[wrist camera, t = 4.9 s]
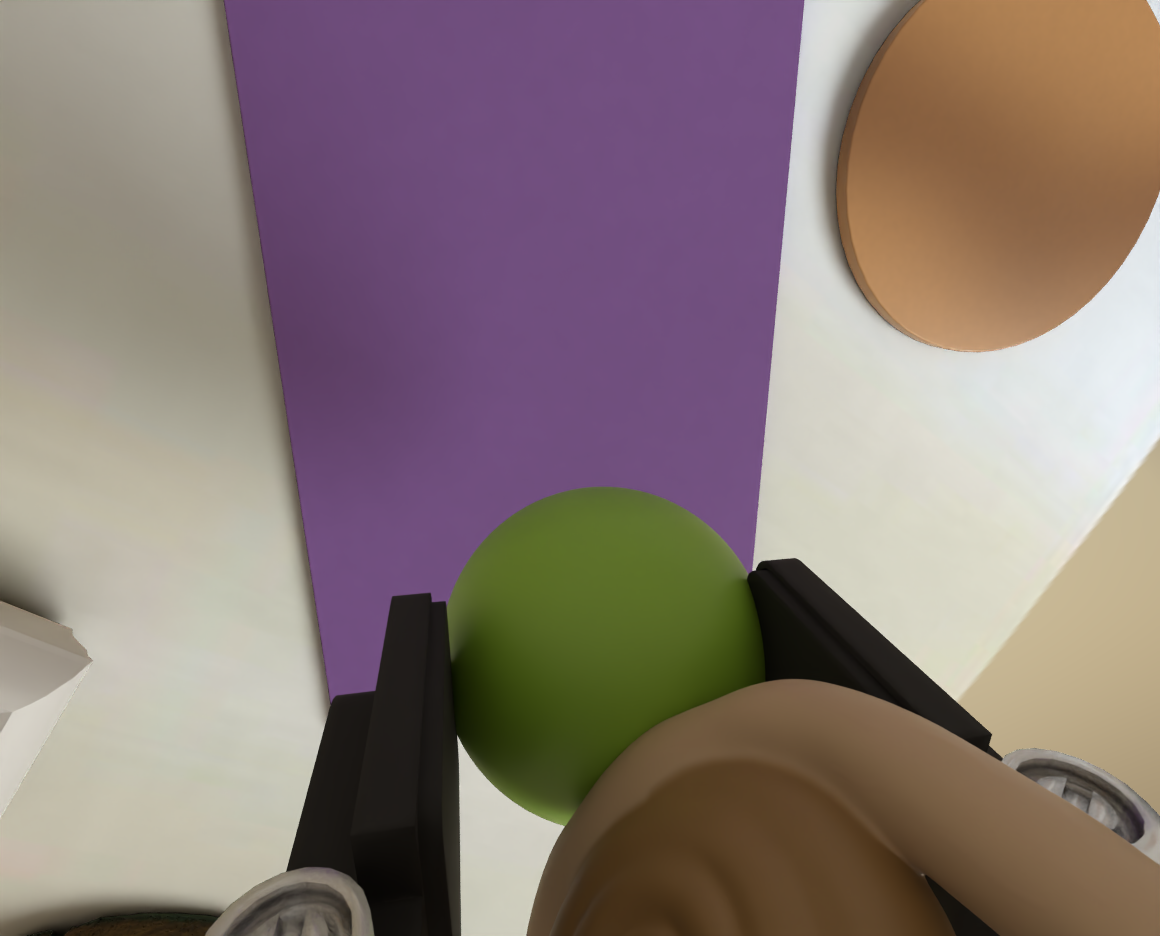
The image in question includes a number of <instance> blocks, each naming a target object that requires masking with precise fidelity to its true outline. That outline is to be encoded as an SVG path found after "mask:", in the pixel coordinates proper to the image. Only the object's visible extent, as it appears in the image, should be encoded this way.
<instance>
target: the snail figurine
mask: <svg viewBox="0 0 1160 936" xmlns="http://www.w3.org/2000/svg"><path fill="white" fill-rule="evenodd" d="M747 577H748V573H747V571H746V569H745V568H744V566H743V564H742V563H741V561H740V560H739V558H738V557H737V556H736V554H735V553H734V552H733V550H732V549H731V548H730V547H729V546H728V544H727V543H726V542H725V541H724V540H723V539H722V538H721V537H720V536H719V535H718V534H717V533H716V532H715V531H714V530H713V529H712V528H711V527H710V526H708V525H707V524H706V523H705V522H704V521H702V520H701V519H699V518H698V517H697V516H695V515H694V514H692V513H691V512H689V511H688V510H686V509H684V508H682V507H681V506H679V505H677V504H675V503H673V502H671V501H668V500H666V499H664V498H661V497H659V496H656V495H653V494H650V493H646V492H642V491H638V490H633V489H627V488H620V487H587V488H579V489H573V490H569V491H564V492H561V493H557V494H554V495H551V496H548V497H546V498H543V499H541V500H538V501H536V502H534V503H532V504H530V505H528V506H526V507H525V508H523V509H521V510H520V511H518V512H516V513H515V514H513V515H512V516H511V517H509V518H508V519H507V520H505V521H504V522H503V523H501V524H500V525H499V526H498V527H497V528H496V529H495V530H494V531H493V532H491V533H490V534H489V535H488V536H487V538H486V539H485V540H484V541H483V542H482V543H481V544H480V545H479V547H478V548H477V549H476V550H475V552H474V553H473V554H472V556H471V557H470V559H469V560H468V562H467V563H466V565H465V567H464V568H463V570H462V572H461V574H460V576H459V578H458V580H457V582H456V584H455V586H454V588H453V591H452V593H451V596H450V599H449V602H448V605H447V617H448V630H449V642H450V655H451V669H452V686H453V701H454V714H455V724H456V732H457V735H458V737H459V739H460V741H461V743H462V745H463V747H464V748H465V750H466V752H467V753H468V755H469V756H470V758H471V759H472V761H473V762H474V763H475V765H476V766H477V767H478V769H479V770H480V771H481V772H482V773H483V775H484V776H485V777H486V778H487V779H488V780H489V781H490V782H491V783H492V784H493V785H494V786H495V787H496V788H497V789H498V790H499V791H500V792H502V793H503V794H504V795H505V796H507V797H508V798H509V799H511V800H512V801H513V802H515V803H516V804H518V805H519V806H521V807H522V808H524V809H526V810H528V811H529V812H531V813H533V814H535V815H537V816H539V817H541V818H544V819H546V820H549V821H551V822H554V823H557V824H560V825H564V826H565V827H564V829H563V831H562V832H561V834H560V836H559V837H558V839H557V841H556V843H555V845H554V847H553V849H552V851H551V854H550V856H549V858H548V861H547V863H546V866H545V869H544V871H543V874H542V877H541V880H540V883H539V887H538V890H537V893H536V897H535V901H534V904H533V908H532V912H531V916H530V921H529V925H528V930H527V936H956V934H955V932H954V930H953V928H952V925H951V923H950V921H949V919H948V917H947V915H946V913H945V912H944V910H943V908H942V906H941V905H940V903H939V901H938V899H937V898H936V896H935V894H934V893H933V891H932V889H931V888H930V886H929V884H928V882H927V880H926V878H925V875H927V876H928V877H930V878H931V879H932V880H934V881H935V882H936V883H937V884H938V885H940V886H941V887H942V888H943V889H944V890H946V891H947V892H948V893H949V894H951V895H952V896H953V897H954V898H955V899H957V900H958V901H959V902H960V903H961V904H963V905H964V906H965V907H966V908H968V909H969V910H970V911H971V912H972V913H974V914H975V915H976V916H977V917H978V918H980V919H981V920H982V921H983V922H984V923H986V924H987V925H988V926H989V927H990V928H992V929H993V930H994V931H995V932H996V933H997V934H999V935H1000V936H1160V865H1159V864H1157V863H1156V862H1155V861H1153V860H1152V859H1150V858H1149V857H1148V856H1146V855H1145V854H1144V853H1142V852H1141V851H1140V850H1138V849H1137V848H1136V847H1135V846H1133V845H1132V844H1130V843H1129V842H1127V841H1126V840H1125V839H1123V838H1122V837H1120V836H1119V835H1118V834H1116V833H1115V832H1113V831H1112V830H1110V829H1109V828H1107V827H1106V826H1105V825H1103V824H1102V823H1100V822H1099V821H1097V820H1096V819H1094V818H1093V817H1091V816H1090V815H1088V814H1087V813H1085V812H1084V811H1082V810H1080V809H1079V808H1077V807H1076V806H1074V805H1072V804H1071V803H1069V802H1068V801H1066V800H1064V799H1063V798H1061V797H1059V796H1058V795H1056V794H1054V793H1053V792H1051V791H1049V790H1047V789H1046V788H1044V787H1042V786H1041V785H1039V784H1037V783H1036V782H1034V781H1032V780H1031V779H1029V778H1027V777H1026V776H1024V775H1022V774H1021V773H1019V772H1017V771H1016V770H1014V769H1012V768H1011V767H1009V766H1008V765H1006V764H1004V763H1003V762H1001V761H999V760H997V759H996V758H994V757H992V756H991V755H989V754H987V753H985V752H984V751H982V750H980V749H979V748H977V747H975V746H974V745H972V744H970V743H968V742H967V741H965V740H963V739H962V738H960V737H958V736H956V735H955V734H953V733H951V732H949V731H948V730H946V729H944V728H942V727H941V726H939V725H937V724H935V723H933V722H931V721H929V720H927V719H925V718H923V717H921V716H919V715H917V714H915V713H912V712H910V711H908V710H906V709H903V708H901V707H899V706H896V705H894V704H892V703H889V702H887V701H884V700H882V699H879V698H876V697H874V696H871V695H868V694H865V693H862V692H859V691H856V690H853V689H850V688H846V687H842V686H839V685H835V684H830V683H826V682H821V681H815V680H805V679H783V680H774V681H768V682H765V658H764V648H763V641H762V634H761V628H760V623H759V619H758V614H757V610H756V606H755V602H754V599H753V596H752V593H751V590H750V587H749V584H748V581H747Z"/></svg>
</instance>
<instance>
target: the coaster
mask: <svg viewBox="0 0 1160 936" xmlns="http://www.w3.org/2000/svg"><path fill="white" fill-rule="evenodd" d="M1159 191H1160V25H1159V23H1158V21H1157V19H1156V17H1155V15H1154V13H1153V11H1152V9H1151V7H1150V6H1149V4H1148V2H1147V1H1146V0H920V1H919V2H918V3H917V4H916V5H915V6H914V7H913V8H912V9H910V10H909V11H908V13H907V14H906V15H905V16H904V17H903V19H902V20H901V21H900V22H899V23H898V24H897V26H896V27H895V28H894V29H893V30H892V32H891V33H890V34H889V36H888V37H887V39H886V40H885V42H884V43H883V45H882V46H881V48H880V49H879V51H878V52H877V54H876V55H875V57H874V58H873V60H872V62H871V64H870V66H869V68H868V70H867V72H866V74H865V76H864V78H863V80H862V81H861V83H860V86H859V88H858V91H857V94H856V96H855V99H854V101H853V104H852V106H851V109H850V112H849V115H848V119H847V122H846V126H845V130H844V133H843V137H842V142H841V148H840V154H839V160H838V168H837V185H836V199H837V218H838V223H839V229H840V235H841V241H842V244H843V248H844V251H845V254H846V258H847V261H848V264H849V266H850V268H851V271H852V273H853V275H854V277H855V279H856V282H857V284H858V285H859V287H860V289H861V290H862V292H863V293H864V295H865V296H866V298H867V300H868V301H869V302H870V304H871V305H872V306H873V307H874V308H875V309H876V310H877V312H878V313H879V314H880V315H881V316H882V317H883V318H884V319H885V320H886V321H888V322H889V323H890V324H891V325H892V326H894V327H895V328H896V329H897V330H899V331H900V332H902V333H904V334H906V335H907V336H909V337H911V338H912V339H914V340H917V341H920V342H922V343H925V344H927V345H930V346H934V347H939V348H944V349H948V350H954V351H963V352H985V351H994V350H1000V349H1004V348H1008V347H1012V346H1016V345H1019V344H1022V343H1024V342H1027V341H1029V340H1032V339H1034V338H1037V337H1039V336H1041V335H1043V334H1044V333H1046V332H1048V331H1050V330H1052V329H1054V328H1055V327H1057V326H1058V325H1060V324H1061V323H1063V322H1064V321H1066V320H1067V319H1069V318H1070V317H1071V316H1073V315H1074V314H1075V313H1077V312H1078V311H1079V310H1080V309H1081V308H1082V307H1084V306H1085V305H1086V304H1087V303H1088V302H1089V301H1090V300H1092V299H1093V298H1094V297H1095V295H1096V294H1097V293H1098V292H1099V291H1100V290H1101V289H1102V288H1103V287H1104V286H1105V285H1106V284H1107V283H1108V282H1109V280H1110V279H1111V278H1112V277H1113V275H1114V274H1115V273H1116V271H1117V270H1118V269H1119V268H1120V266H1121V265H1122V264H1123V262H1124V261H1125V259H1126V258H1127V256H1128V255H1129V253H1130V251H1131V250H1132V248H1133V247H1134V245H1135V244H1136V242H1137V240H1138V238H1139V236H1140V234H1141V233H1142V231H1143V229H1144V227H1145V225H1146V223H1147V221H1148V219H1149V217H1150V214H1151V212H1152V209H1153V207H1154V205H1155V202H1156V200H1157V197H1158V195H1159Z"/></svg>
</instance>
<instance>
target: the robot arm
mask: <svg viewBox="0 0 1160 936" xmlns="http://www.w3.org/2000/svg"><path fill="white" fill-rule="evenodd" d="M747 581H748V584H749V587H750V590H751V593H752V596H753V599H754V602H755V606H756V610H757V614H758V619H759V623H760V628H761V634H762V641H763V648H764V658H765V682H768V681H774V680H783V679H805V680H815V681H821V682H826V683H830V684H835V685H839V686H842V687H846V688H850V689H853V690H856V691H859V692H862V693H865V694H868V695H871V696H874V697H876V698H879V699H882V700H884V701H887V702H889V703H892V704H894V705H896V706H899V707H901V708H903V709H906V710H908V711H910V712H912V713H915V714H917V715H919V716H921V717H923V718H925V719H927V720H929V721H931V722H933V723H935V724H937V725H939V726H941V727H942V728H944V729H946V730H948V731H949V732H951V733H953V734H955V735H956V736H958V737H960V738H962V739H963V740H965V741H967V742H968V743H970V744H972V745H974V746H975V747H977V748H979V749H980V750H982V751H984V752H985V753H987V754H989V755H991V756H992V757H994V758H996V759H997V760H999V761H1001V762H1003V763H1004V764H1006V765H1008V766H1009V767H1011V768H1012V769H1014V770H1016V771H1017V772H1019V773H1021V774H1022V775H1024V776H1026V777H1027V778H1029V779H1031V780H1032V781H1034V782H1036V783H1037V784H1039V785H1041V786H1042V787H1044V788H1046V789H1047V790H1049V791H1051V792H1053V793H1054V794H1056V795H1058V796H1059V797H1061V798H1063V799H1064V800H1066V801H1068V802H1069V803H1071V804H1072V805H1074V806H1076V807H1077V808H1079V809H1080V810H1082V811H1084V812H1085V813H1087V814H1088V815H1090V816H1091V817H1093V818H1094V819H1096V820H1097V821H1099V822H1100V823H1102V824H1103V825H1105V826H1106V827H1107V828H1109V829H1110V830H1112V831H1113V832H1115V833H1116V834H1118V835H1119V836H1120V837H1122V838H1123V839H1125V840H1126V841H1127V842H1129V843H1130V844H1132V845H1133V846H1135V847H1136V848H1137V849H1138V850H1140V851H1141V852H1142V853H1144V854H1145V855H1146V856H1148V857H1149V858H1150V859H1152V860H1153V861H1155V862H1156V863H1157V864H1159V865H1160V816H1159V815H1158V814H1157V812H1155V810H1154V809H1153V808H1151V806H1150V805H1149V804H1148V803H1147V802H1146V801H1145V800H1144V799H1143V798H1141V797H1140V796H1139V795H1138V794H1137V793H1136V792H1135V791H1134V790H1132V789H1131V788H1130V787H1129V786H1128V785H1126V784H1125V783H1123V782H1122V781H1120V780H1119V779H1117V778H1116V777H1114V776H1112V775H1111V774H1109V773H1108V772H1106V771H1105V770H1103V769H1100V768H1098V767H1096V766H1094V765H1092V764H1090V763H1088V762H1086V761H1084V760H1082V759H1079V758H1076V757H1073V756H1069V755H1066V754H1063V753H1060V752H1057V751H1050V750H1044V749H1037V748H1032V749H1019V750H1016V751H1014V752H1011V753H1009V754H1007V755H1005V757H1004V758H1002V757H1001V756H1000V755H999V754H997V753H996V752H995V751H994V750H993V749H992V748H991V747H990V746H989V743H990V739H991V736H992V734H991V733H990V732H989V731H988V730H987V729H986V728H985V727H983V726H982V725H981V724H980V723H979V722H978V721H977V720H976V719H975V718H974V717H972V716H971V715H970V714H969V713H968V712H967V711H966V710H965V709H964V708H963V707H961V706H960V705H959V704H958V703H957V702H956V701H955V700H954V699H953V698H951V697H950V696H949V695H948V694H947V693H946V692H945V691H944V690H943V689H942V688H940V687H939V686H938V685H937V684H936V683H935V682H934V681H933V680H932V679H930V678H929V677H928V676H927V675H926V674H925V673H924V672H923V671H922V670H921V669H919V668H918V667H917V666H916V665H915V664H914V663H913V662H912V661H911V660H909V659H908V658H907V657H906V656H905V655H904V654H903V653H902V652H901V651H900V650H898V649H897V648H896V647H895V646H894V645H893V644H892V643H891V642H890V641H888V640H887V639H886V638H885V637H884V636H883V635H882V634H881V633H880V632H879V631H877V630H876V629H875V628H874V627H873V626H872V625H871V624H870V623H869V622H867V621H866V620H865V619H864V618H863V617H862V616H861V615H860V614H859V613H858V612H856V611H855V610H854V609H853V608H852V607H851V606H850V605H849V604H848V603H846V602H845V601H844V600H843V599H842V598H841V597H840V596H839V595H838V594H837V593H835V592H834V591H833V590H832V589H831V588H830V587H829V586H828V585H827V584H825V583H824V582H823V581H822V580H821V579H820V578H819V577H818V576H817V575H816V574H814V573H813V572H812V571H811V570H810V569H809V568H808V567H807V566H806V565H804V564H803V563H802V562H801V561H800V560H798V559H796V558H791V559H780V560H770V561H762V562H760V563H759V564H758V566H757V568H756V571H751V572H750V573H749V575H748V577H747ZM925 878H926V880H927V882H928V884H929V886H930V888H931V889H932V891H933V893H934V894H935V896H936V898H937V899H938V901H939V903H940V905H941V906H942V908H943V910H944V912H945V913H946V915H947V917H948V919H949V921H950V923H951V925H952V928H953V930H954V932H955V934H956V936H1000V935H999V934H997V933H996V932H995V931H994V930H993V929H992V928H990V927H989V926H988V925H987V924H986V923H984V922H983V921H982V920H981V919H980V918H978V917H977V916H976V915H975V914H974V913H972V912H971V911H970V910H969V909H968V908H966V907H965V906H964V905H963V904H961V903H960V902H959V901H958V900H957V899H955V898H954V897H953V896H952V895H951V894H949V893H948V892H947V891H946V890H944V889H943V888H942V887H941V886H940V885H938V884H937V883H936V882H935V881H934V880H932V879H931V878H930V877H928V876H927V875H925ZM205 936H461V899H460V816H459V759H458V742H457V732H456V724H455V714H454V701H453V686H452V669H451V655H450V642H449V630H448V617H447V606H446V601H440V602H432V596H431V593H420V594H410V595H399V596H392V599H391V604H390V609H389V615H388V621H387V627H386V632H385V638H384V644H383V650H382V655H381V661H380V667H379V672H378V678H377V684H376V690H375V691H369V692H361V693H352V694H344V695H336V696H335V697H334V698H333V700H332V703H331V706H330V709H329V713H328V717H327V720H326V724H325V728H324V732H323V735H322V739H321V743H320V747H319V750H318V754H317V758H316V762H315V765H314V769H313V773H312V777H311V780H310V784H309V788H308V792H307V795H306V799H305V803H304V807H303V811H302V814H301V818H300V822H299V826H298V829H297V833H296V837H295V841H294V844H293V848H292V852H291V856H290V859H289V863H288V867H287V871H286V872H284V873H281V874H279V875H277V876H275V877H273V878H271V879H268V880H266V881H264V882H262V883H260V884H258V885H256V886H255V887H253V888H252V889H251V890H249V891H248V892H247V893H245V894H244V895H243V896H241V897H240V898H239V899H237V900H236V901H235V902H233V903H232V904H231V905H230V906H229V907H228V908H227V909H226V910H225V911H224V912H223V914H222V915H221V916H220V917H219V918H218V919H217V920H216V921H215V923H214V924H213V925H212V926H211V927H210V928H209V929H208V931H207V933H206V935H205Z"/></svg>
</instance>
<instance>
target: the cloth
mask: <svg viewBox="0 0 1160 936" xmlns="http://www.w3.org/2000/svg"><path fill="white" fill-rule="evenodd" d="M224 6H225V12H226V19H227V25H228V32H229V39H230V45H231V52H232V58H233V65H234V71H235V78H236V85H237V91H238V98H239V104H240V111H241V118H242V124H243V131H244V137H245V144H246V150H247V157H248V164H249V170H250V177H251V183H252V190H253V197H254V203H255V210H256V216H257V223H258V229H259V236H260V243H261V249H262V256H263V262H264V269H265V276H266V282H267V289H268V295H269V302H270V308H271V315H272V322H273V328H274V335H275V341H276V348H277V355H278V361H279V368H280V374H281V381H282V387H283V394H284V401H285V407H286V414H287V420H288V427H289V434H290V440H291V447H292V453H293V460H294V467H295V473H296V480H297V486H298V493H299V499H300V506H301V513H302V519H303V526H304V532H305V539H306V546H307V552H308V559H309V565H310V572H311V578H312V585H313V592H314V598H315V605H316V611H317V618H318V625H319V631H320V638H321V644H322V651H323V657H324V664H325V671H326V677H327V684H328V690H329V697H330V704H331V703H332V700H333V698H334V697H335V696H336V695H344V694H352V693H361V692H369V691H375V690H376V684H377V678H378V672H379V667H380V661H381V655H382V650H383V644H384V638H385V632H386V627H387V621H388V615H389V609H390V604H391V599H392V596H399V595H410V594H420V593H431V596H432V602H440V601H446V606H447V605H448V602H449V599H450V596H451V593H452V591H453V588H454V586H455V584H456V582H457V580H458V578H459V576H460V574H461V572H462V570H463V568H464V567H465V565H466V563H467V562H468V560H469V559H470V557H471V556H472V554H473V553H474V552H475V550H476V549H477V548H478V547H479V545H480V544H481V543H482V542H483V541H484V540H485V539H486V538H487V536H488V535H489V534H490V533H491V532H493V531H494V530H495V529H496V528H497V527H498V526H499V525H500V524H501V523H503V522H504V521H505V520H507V519H508V518H509V517H511V516H512V515H513V514H515V513H516V512H518V511H520V510H521V509H523V508H525V507H526V506H528V505H530V504H532V503H534V502H536V501H538V500H541V499H543V498H546V497H548V496H551V495H554V494H557V493H561V492H564V491H569V490H573V489H579V488H587V487H620V488H627V489H633V490H638V491H642V492H646V493H650V494H653V495H656V496H659V497H661V498H664V499H666V500H668V501H671V502H673V503H675V504H677V505H679V506H681V507H682V508H684V509H686V510H688V511H689V512H691V513H692V514H694V515H695V516H697V517H698V518H699V519H701V520H702V521H704V522H705V523H706V524H707V525H708V526H710V527H711V528H712V529H713V530H714V531H715V532H716V533H717V534H718V535H719V536H720V537H721V538H722V539H723V540H724V541H725V542H726V543H727V544H728V546H729V547H730V548H731V549H732V550H733V552H734V553H735V554H736V556H737V557H738V558H739V560H740V561H741V563H742V564H743V566H744V568H745V569H746V571H747V573H748V575H749V573H750V572H751V571H752V566H753V555H754V544H755V533H756V522H757V511H758V500H759V489H760V479H761V468H762V457H763V446H764V435H765V424H766V413H767V402H768V391H769V380H770V369H771V358H772V347H773V336H774V326H775V315H776V304H777V293H778V282H779V271H780V260H781V249H782V238H783V227H784V216H785V205H786V194H787V184H788V173H789V162H790V151H791V140H792V129H793V118H794V107H795V96H796V85H797V74H798V63H799V52H800V42H801V31H802V20H803V9H804V0H224Z"/></svg>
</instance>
